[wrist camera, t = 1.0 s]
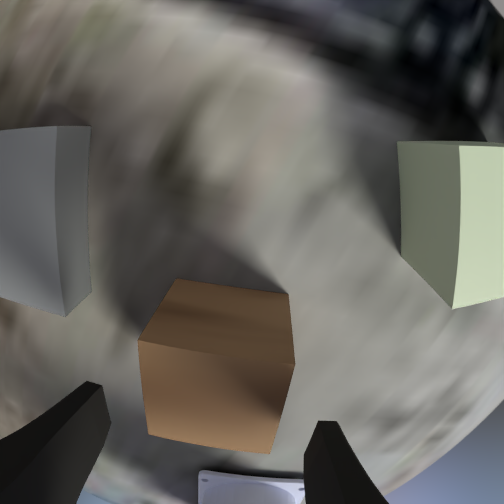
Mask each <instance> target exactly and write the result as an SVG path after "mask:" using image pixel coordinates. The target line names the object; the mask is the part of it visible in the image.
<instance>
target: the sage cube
mask: <svg viewBox="0 0 504 504" xmlns="http://www.w3.org/2000/svg"><path fill="white" fill-rule="evenodd" d="M397 151H398V163H399V178H400V200H401V257H402V258H403V259H404V260H405V261H406V262H407V263H408V264H409V265H410V266H411V267H412V268H413V269H414V270H415V271H416V272H417V273H418V274H419V275H420V276H421V277H422V278H423V279H424V280H425V281H426V282H427V283H428V284H429V285H430V286H431V287H432V288H433V289H434V290H435V291H436V292H437V294H438V295H439V296H440V297H441V298H442V299H443V300H444V301H445V302H446V303H447V304H448V305H449V306H450V307H451V309H455V308H460V307H464V306H469V305H473V304H477V303H481V302H486V301H490V300H494V299H498V298H502V297H504V144H503V143H493V142H475V141H398V142H397Z"/></svg>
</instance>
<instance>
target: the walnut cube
mask: <svg viewBox="0 0 504 504" xmlns="http://www.w3.org/2000/svg"><path fill="white" fill-rule="evenodd" d="M138 351H139V363H140V373H141V382H142V391H143V399H144V407H145V414H146V421H147V427H148V434H150V435H154V436H158V437H162V438H167V439H171V440H176V441H181V442H186V443H191V444H197V445H203V446H209V447H215V448H222V449H229V450H237V451H245V452H254V453H265V454H270V452H271V448H272V445H273V442H274V439H275V435H276V432H277V429H278V425H279V422H280V418H281V415H282V411H283V408H284V404H285V401H286V397H287V393H288V390H289V386H290V382H291V378H292V375H293V371H294V367H295V357H294V346H293V335H292V325H291V315H290V305H289V295H288V294H284V293H277V292H269V291H261V290H254V289H246V288H239V287H232V286H225V285H218V284H211V283H204V282H197V281H190V280H184V279H177V278H176V280H175V281H174V283H173V284H172V286H171V288H170V289H169V291H168V292H167V294H166V295H165V297H164V299H163V300H162V302H161V303H160V305H159V306H158V308H157V310H156V311H155V313H154V314H153V316H152V318H151V319H150V321H149V322H148V324H147V326H146V327H145V329H144V330H143V332H142V334H141V335H140V337H139V339H138Z"/></svg>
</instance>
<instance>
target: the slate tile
mask: <svg viewBox="0 0 504 504" xmlns="http://www.w3.org/2000/svg"><path fill="white" fill-rule="evenodd" d="M90 135H91V126H47V127H32V128H20V129H10V130H0V297H2V298H5V299H8V300H11V301H14V302H17V303H20V304H23V305H27V306H30V307H33V308H36V309H40V310H43V311H46V312H50V313H53V314H57V315H60V316H64V317H66V316H67V315H68V314H69V313H70V312H71V311H72V310H73V309H74V308H75V307H76V306H77V305H78V304H79V303H80V302H81V301H82V300H83V299H85V298H86V297H87V296H88V295H89V294H90V293H91V292H92V288H91V276H90V262H89V243H88V169H89V150H90Z"/></svg>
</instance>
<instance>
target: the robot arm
mask: <svg viewBox="0 0 504 504" xmlns="http://www.w3.org/2000/svg"><path fill="white" fill-rule="evenodd" d="M110 425H111V420H110V416H109V413H108V409H107V404H106V400H105V396H104V392H103V387H102V385H99V384H96V383H92V382H89V381H86V382H85V383H83V384H82V385H81V386H79V387H78V388H77V389H75V390H74V391H73V392H71V393H70V394H69V395H68V396H66V397H65V398H64V399H62V400H61V401H60V402H58V403H57V404H56V405H54V406H53V407H52V408H50V409H49V410H48V411H46V412H45V413H43V414H42V415H41V416H39V417H38V418H36V419H35V420H33V421H32V422H30V423H29V424H27V425H25V426H24V427H22V428H21V429H19V430H17V431H16V432H14V433H12V434H10V435H8V436H7V437H5V438H3V439H1V440H0V504H76V502H77V500H78V498H79V495H80V493H81V490H82V488H83V486H84V484H85V482H86V480H87V478H88V476H89V474H90V472H91V470H92V468H93V466H94V464H95V462H96V460H97V458H98V456H99V454H100V452H101V450H102V448H103V445H104V443H105V440H106V437H107V434H108V431H109V428H110ZM304 496H305V500H306V504H389V503H388V502H387V501H386V500H385V498H384V497H383V496H382V494H381V493H380V492H379V490H378V489H377V487H376V486H375V485H374V483H373V482H372V480H371V479H370V478H369V476H368V474H367V473H366V471H365V470H364V468H363V467H362V465H361V463H360V462H359V460H358V459H357V457H356V455H355V454H354V452H353V450H352V448H351V446H350V445H349V443H348V441H347V439H346V437H345V435H344V434H343V432H342V430H341V428H340V426H339V424H338V423H337V421H318V423H317V425H316V428H315V430H314V432H313V435H312V437H311V440H310V442H309V444H308V447H307V449H306V451H305V453H304V479H283V478H267V477H255V476H245V475H236V474H228V473H221V472H214V471H208V470H201V471H199V475H198V504H300V503H301V501H302V499H303V498H304Z"/></svg>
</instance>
